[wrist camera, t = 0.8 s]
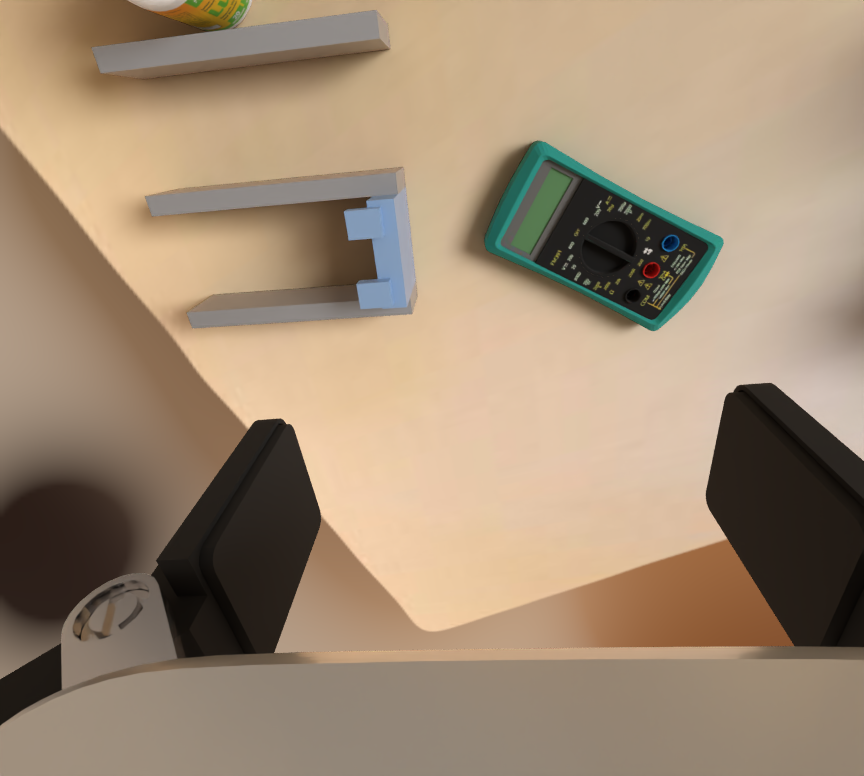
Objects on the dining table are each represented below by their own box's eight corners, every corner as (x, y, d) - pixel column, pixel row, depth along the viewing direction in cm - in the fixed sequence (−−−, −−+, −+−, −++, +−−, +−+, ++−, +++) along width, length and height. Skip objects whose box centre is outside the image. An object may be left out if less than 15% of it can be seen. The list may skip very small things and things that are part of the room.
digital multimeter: (651, 325, 36) (665, 340, 34) (479, 240, 34) (480, 249, 32) (717, 236, 33) (738, 245, 30) (531, 135, 31) (537, 136, 28)
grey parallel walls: (80, -115, 26) (-35, -185, 20) (367, -163, 24) (335, -256, 18) (217, 309, 38) (171, 344, 32) (417, 295, 36) (407, 329, 30)
